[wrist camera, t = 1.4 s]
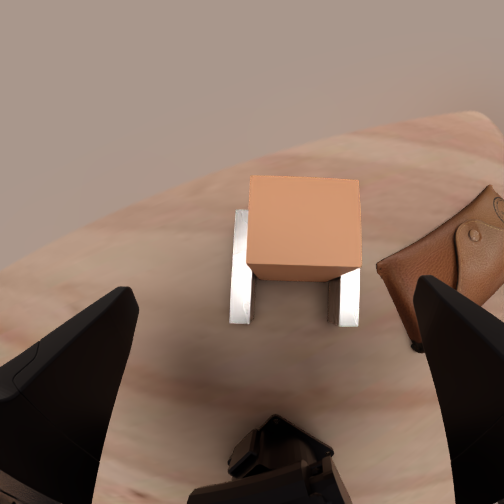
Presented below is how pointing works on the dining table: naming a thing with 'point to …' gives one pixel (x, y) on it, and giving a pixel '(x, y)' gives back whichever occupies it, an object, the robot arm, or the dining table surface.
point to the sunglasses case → (451, 259)
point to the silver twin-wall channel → (244, 284)
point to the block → (303, 228)
